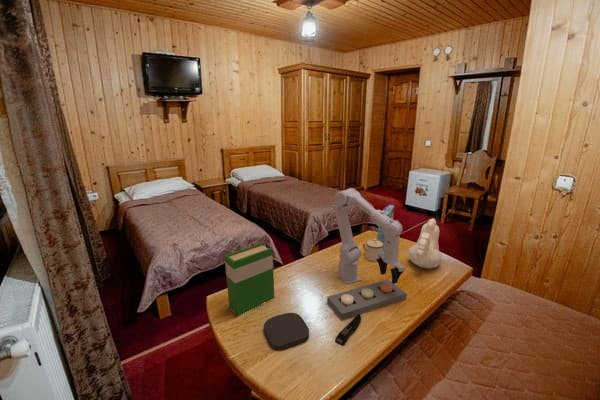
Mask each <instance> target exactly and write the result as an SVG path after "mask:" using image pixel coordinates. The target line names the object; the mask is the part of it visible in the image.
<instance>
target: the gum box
mask: <svg viewBox="0 0 600 400" xmlns="http://www.w3.org/2000/svg"><path fill="white" fill-rule="evenodd" d="M381 211H384V214H386V215H387V216H388V217H389V218H391V219H393V220H394V213H395V205H393V204H386V206H385V207H383V209H382V210H381ZM377 228H378V229H377V238H376V239H377V240H378V241H381V242H382V243H383V253H384V245H385V235H384V233H383V230H382V229H381V228H380V227H379V226H377Z"/></svg>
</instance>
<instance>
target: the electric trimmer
mask: <svg viewBox="0 0 600 400" xmlns="http://www.w3.org/2000/svg"><path fill="white" fill-rule="evenodd" d="M361 321H362V316H361V314H358V315H357V316H354V317H353V319H352V320H351V321H349V323H348V324H347V325H345V327H344V328H342V330H341V331H340V332H339V333H337V335H336V336H335V338H334V339H335V340H334V342H335V343H336V344H337V345H340V347H341V346H345V344H346V342H347V339H348V338H349V337H350V335H351V334H352V333H354V332H356V331H357V330H358V329H357V328H358V326H359V325H360V324H361Z"/></svg>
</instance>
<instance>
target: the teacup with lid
mask: <svg viewBox="0 0 600 400" xmlns="http://www.w3.org/2000/svg"><path fill="white" fill-rule="evenodd" d="M365 246H366V247H365ZM362 249H363V251H365V258H366V260H367V261H369V262H372V263H373V262H375V263H378V262H377V259H378V258H379V257H378V252H383V243H382V242H381V241H378V240H377V238H373V239H370V240H367V241H366V242H364V243H363V244H362ZM383 253H384V252H383Z"/></svg>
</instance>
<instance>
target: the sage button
mask: <svg viewBox="0 0 600 400" xmlns="http://www.w3.org/2000/svg"><path fill="white" fill-rule="evenodd" d="M373 294H374V292H373V291H372V290H371V289H368V288H365V289H362V291H361V296H362V297H363V298H364V299H365V300H369V299H372V298H373Z"/></svg>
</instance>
